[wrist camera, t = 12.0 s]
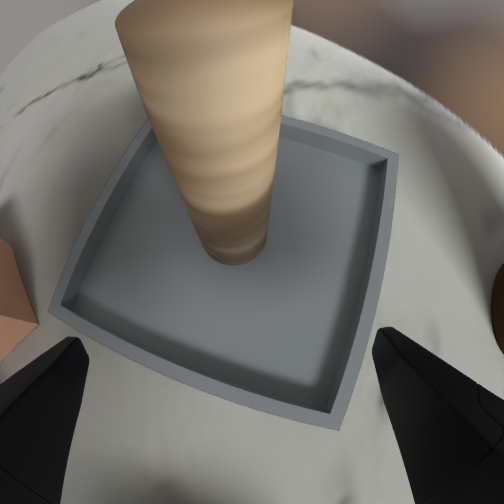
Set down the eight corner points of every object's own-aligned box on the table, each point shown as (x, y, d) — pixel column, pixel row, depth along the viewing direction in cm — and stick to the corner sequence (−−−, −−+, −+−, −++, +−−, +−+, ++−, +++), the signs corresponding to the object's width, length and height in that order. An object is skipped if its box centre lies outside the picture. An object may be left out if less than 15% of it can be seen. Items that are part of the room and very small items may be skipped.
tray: (386, 173, 21) (398, 154, 18) (327, 420, 15) (338, 430, 13) (173, 114, 23) (167, 93, 20) (68, 317, 17) (47, 311, 15)
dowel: (280, 241, 18) (331, 9, 4) (223, 278, 17) (148, 61, 4) (242, 192, 19) (232, -31, 5) (188, 225, 18) (99, 12, 5)
